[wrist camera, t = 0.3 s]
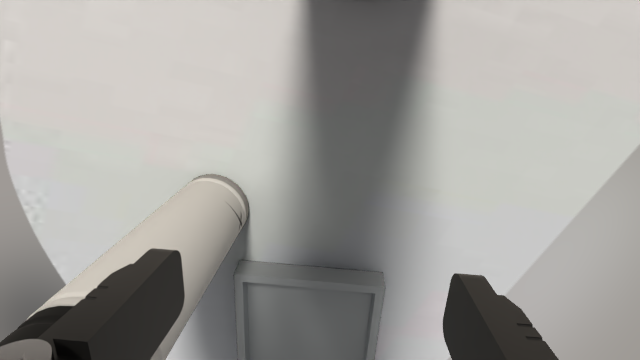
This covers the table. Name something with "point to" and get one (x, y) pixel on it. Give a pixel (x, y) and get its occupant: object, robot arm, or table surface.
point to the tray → (306, 312)
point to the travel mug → (162, 233)
